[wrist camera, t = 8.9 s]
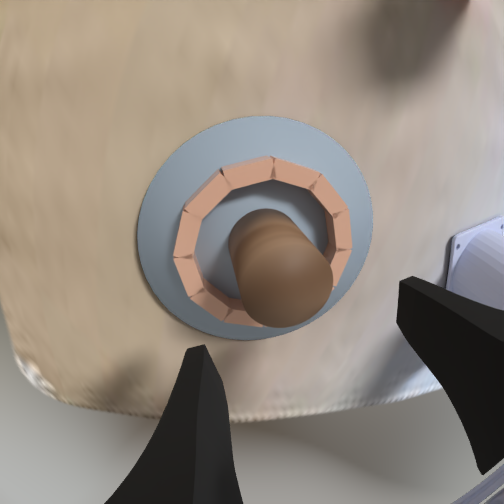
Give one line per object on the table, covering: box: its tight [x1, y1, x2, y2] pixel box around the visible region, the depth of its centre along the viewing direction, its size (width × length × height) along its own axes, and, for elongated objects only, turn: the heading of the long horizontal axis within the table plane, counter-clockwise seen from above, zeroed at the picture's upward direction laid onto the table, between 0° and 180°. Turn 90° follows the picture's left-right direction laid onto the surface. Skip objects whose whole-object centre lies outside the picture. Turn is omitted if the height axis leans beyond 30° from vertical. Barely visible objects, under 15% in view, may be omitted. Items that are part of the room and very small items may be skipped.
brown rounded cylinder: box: [228, 208, 333, 328], centre depth 15 cm, size 4×4×5 cm
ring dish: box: [137, 116, 373, 340], centre depth 17 cm, size 14×14×2 cm
